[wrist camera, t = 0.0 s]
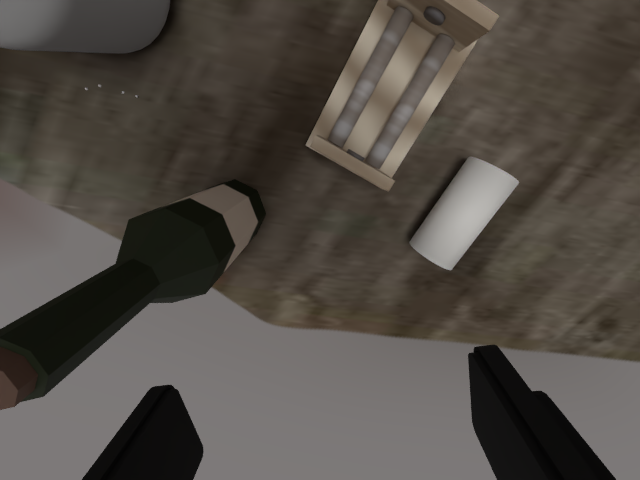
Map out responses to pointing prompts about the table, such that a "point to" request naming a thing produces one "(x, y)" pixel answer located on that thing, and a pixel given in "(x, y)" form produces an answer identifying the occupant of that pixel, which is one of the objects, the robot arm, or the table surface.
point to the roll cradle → (396, 82)
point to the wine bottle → (129, 286)
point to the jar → (81, 25)
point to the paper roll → (462, 212)
